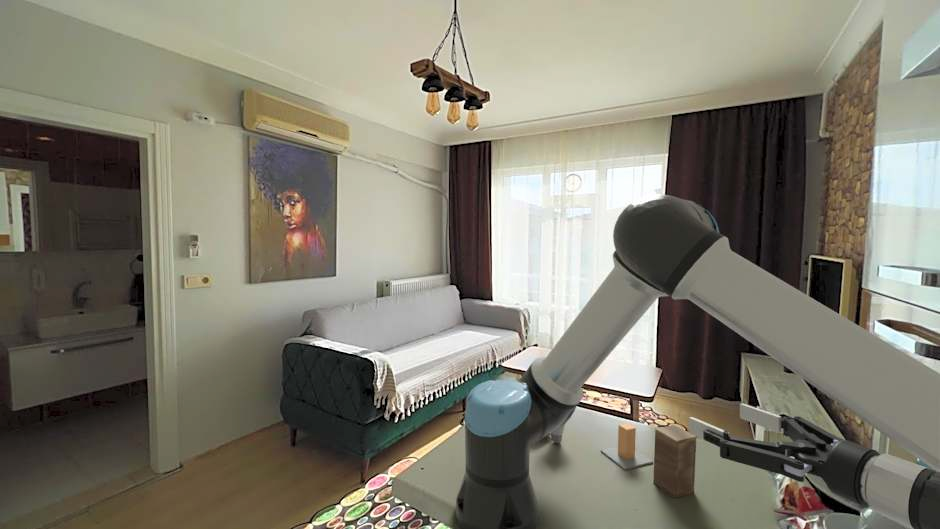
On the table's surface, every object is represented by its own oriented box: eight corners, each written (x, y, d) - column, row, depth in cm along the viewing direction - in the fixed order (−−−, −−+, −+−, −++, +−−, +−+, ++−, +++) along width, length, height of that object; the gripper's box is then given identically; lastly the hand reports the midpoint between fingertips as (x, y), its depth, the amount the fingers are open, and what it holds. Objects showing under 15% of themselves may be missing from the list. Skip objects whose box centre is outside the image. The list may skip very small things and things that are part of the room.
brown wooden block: (674, 498, 75) (676, 441, 75) (653, 482, 80) (655, 428, 80) (693, 492, 77) (696, 436, 77) (672, 477, 82) (674, 424, 81)
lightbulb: (567, 437, 99) (567, 395, 98) (570, 450, 93) (571, 405, 92) (543, 436, 99) (543, 394, 99) (545, 448, 93) (546, 404, 93)
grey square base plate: (624, 470, 85) (625, 437, 84) (600, 451, 92) (601, 421, 92) (652, 463, 87) (654, 431, 87) (627, 445, 95) (628, 416, 94)
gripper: (820, 537, 46) (667, 453, 65) (919, 484, 55) (760, 424, 75) (820, 476, 45) (666, 409, 65) (920, 432, 55) (760, 386, 75)
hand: (716, 417), depth 70 cm, fingers open, 13 cm apart
